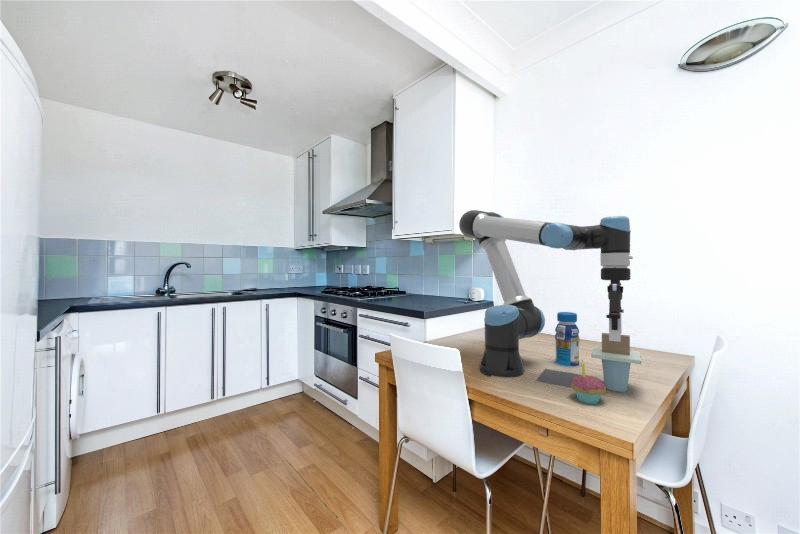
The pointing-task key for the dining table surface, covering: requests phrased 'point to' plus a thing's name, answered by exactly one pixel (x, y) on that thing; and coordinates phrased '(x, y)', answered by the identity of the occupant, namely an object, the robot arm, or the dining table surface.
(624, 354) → the lid
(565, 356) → the beverage bottle
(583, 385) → the cupcake
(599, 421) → the dining table surface
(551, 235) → the robot arm
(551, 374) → the mat
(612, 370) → the cup
